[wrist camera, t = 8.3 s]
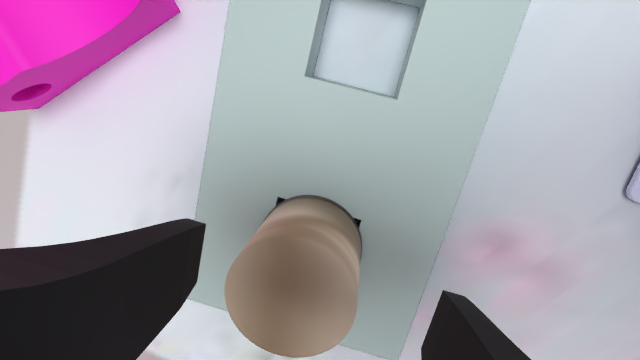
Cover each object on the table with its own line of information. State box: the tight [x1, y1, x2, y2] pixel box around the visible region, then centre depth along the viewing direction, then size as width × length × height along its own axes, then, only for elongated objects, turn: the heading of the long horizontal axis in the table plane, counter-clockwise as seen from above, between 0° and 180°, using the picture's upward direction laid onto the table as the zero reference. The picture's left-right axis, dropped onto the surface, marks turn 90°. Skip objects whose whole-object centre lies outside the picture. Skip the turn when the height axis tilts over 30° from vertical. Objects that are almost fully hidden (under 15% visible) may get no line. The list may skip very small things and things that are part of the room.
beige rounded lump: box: [224, 195, 362, 357], centre depth 18 cm, size 5×5×7 cm
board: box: [187, 0, 531, 360], centre depth 19 cm, size 12×20×2 cm, turn 166°
